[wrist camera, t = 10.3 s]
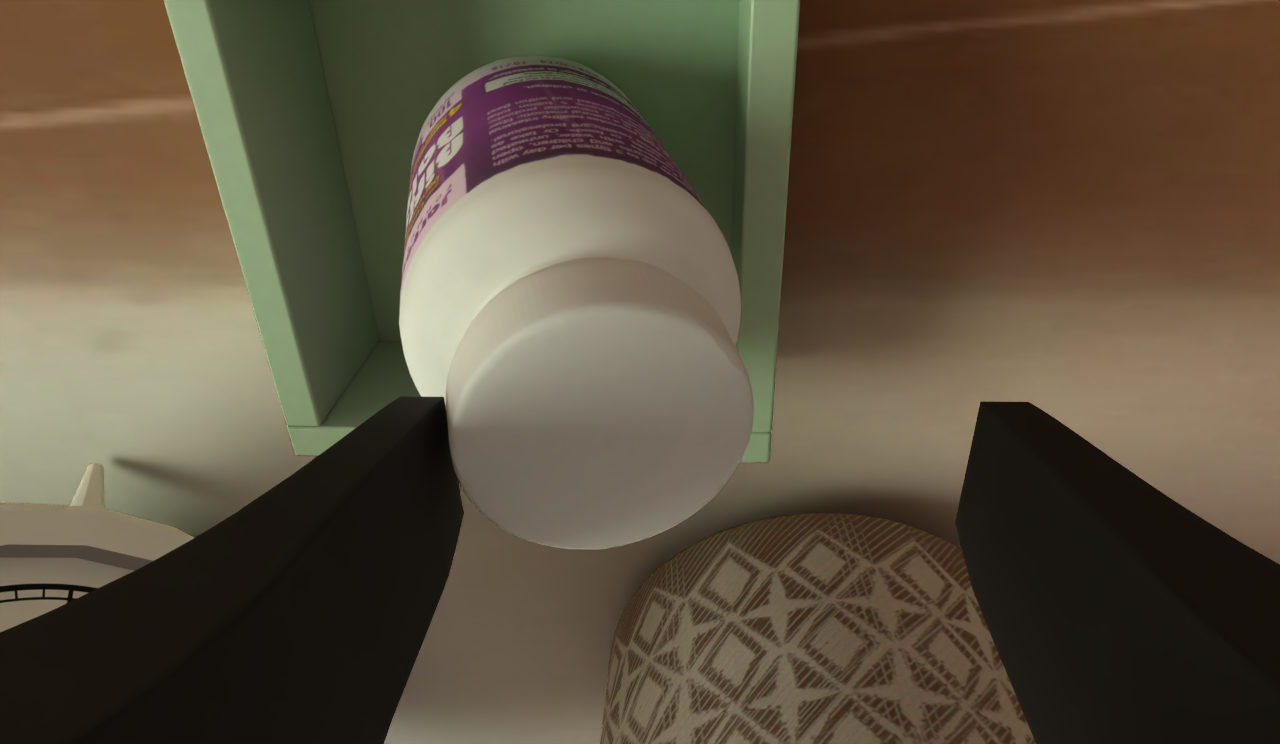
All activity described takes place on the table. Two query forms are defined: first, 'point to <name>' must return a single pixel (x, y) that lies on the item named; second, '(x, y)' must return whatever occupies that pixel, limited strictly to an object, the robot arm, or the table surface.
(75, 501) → the alarm clock
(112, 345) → the table surface
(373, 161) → the bin
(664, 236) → the pill bottle
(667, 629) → the planter
